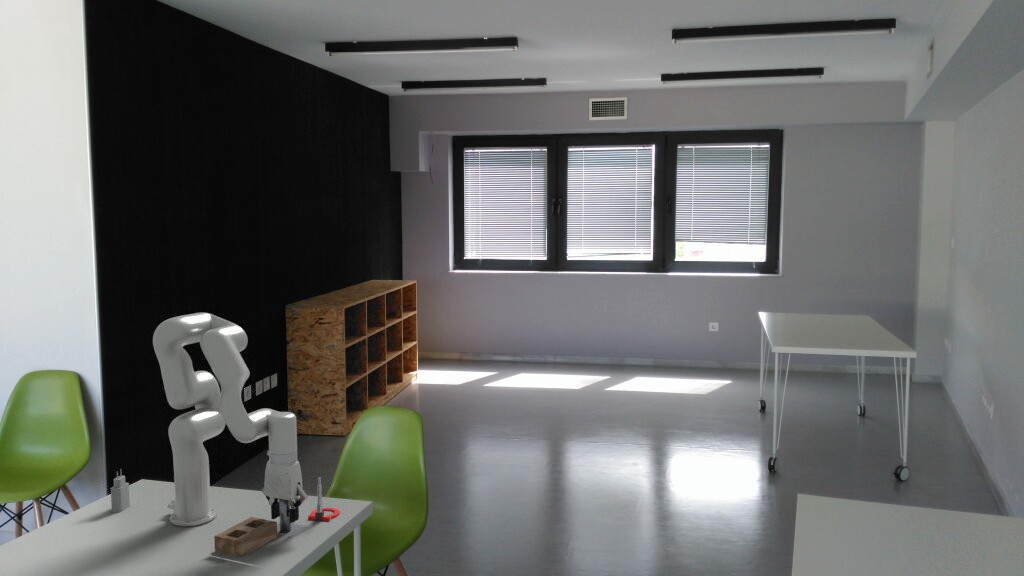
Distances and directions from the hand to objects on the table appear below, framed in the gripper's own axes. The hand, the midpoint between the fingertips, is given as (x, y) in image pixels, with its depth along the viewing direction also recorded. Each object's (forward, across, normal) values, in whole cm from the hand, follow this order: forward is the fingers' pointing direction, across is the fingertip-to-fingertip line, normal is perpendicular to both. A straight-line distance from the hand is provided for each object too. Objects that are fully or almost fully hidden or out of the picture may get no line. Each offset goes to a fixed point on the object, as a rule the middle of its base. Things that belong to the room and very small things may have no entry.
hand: (285, 518), depth 220 cm
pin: (+4, 0, 0) cm, 4 cm away
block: (+4, -4, -11) cm, 12 cm away
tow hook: (+4, +3, +14) cm, 15 cm away
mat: (+4, 0, +1) cm, 4 cm away
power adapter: (+4, -57, -6) cm, 57 cm away
